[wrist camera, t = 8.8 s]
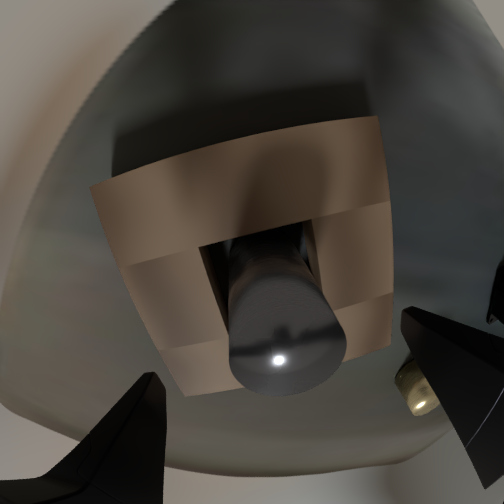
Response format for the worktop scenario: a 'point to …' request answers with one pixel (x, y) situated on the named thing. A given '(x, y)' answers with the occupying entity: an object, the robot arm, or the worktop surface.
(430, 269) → the worktop surface
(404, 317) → the robot arm
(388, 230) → the hole plate
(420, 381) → the short pin
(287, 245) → the tall pin
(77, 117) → the worktop surface
